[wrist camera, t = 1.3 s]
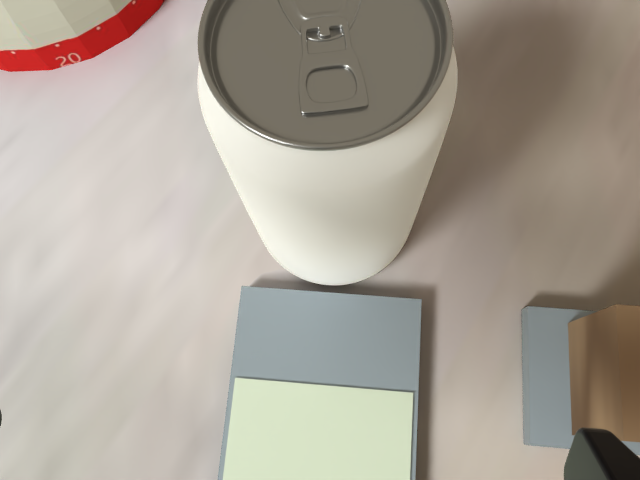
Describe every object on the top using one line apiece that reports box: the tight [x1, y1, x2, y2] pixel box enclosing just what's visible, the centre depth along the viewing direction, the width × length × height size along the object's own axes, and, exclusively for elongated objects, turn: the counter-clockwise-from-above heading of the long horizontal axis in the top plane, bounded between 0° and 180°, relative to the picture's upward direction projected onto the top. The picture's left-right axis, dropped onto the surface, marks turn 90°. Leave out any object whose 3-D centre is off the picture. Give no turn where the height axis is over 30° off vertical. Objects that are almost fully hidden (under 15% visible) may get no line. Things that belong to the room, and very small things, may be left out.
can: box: [198, 0, 458, 285], centre depth 18 cm, size 6×6×12 cm
